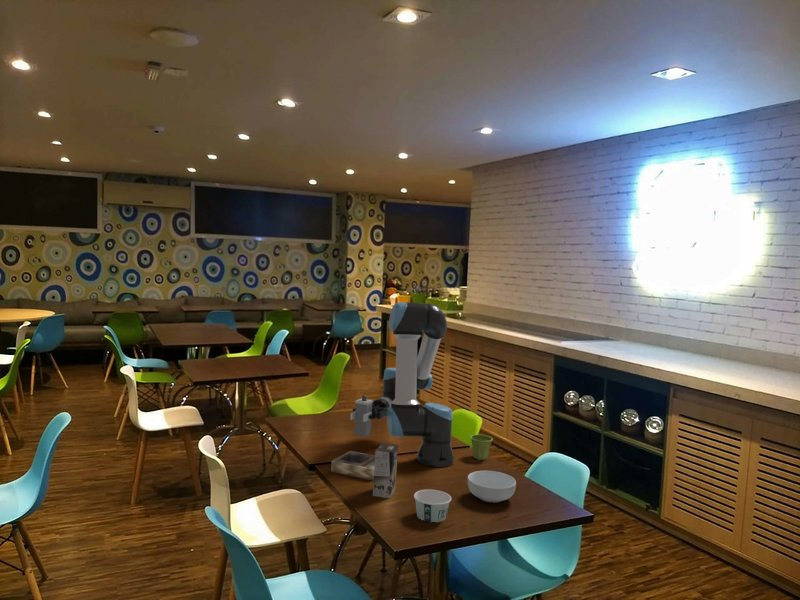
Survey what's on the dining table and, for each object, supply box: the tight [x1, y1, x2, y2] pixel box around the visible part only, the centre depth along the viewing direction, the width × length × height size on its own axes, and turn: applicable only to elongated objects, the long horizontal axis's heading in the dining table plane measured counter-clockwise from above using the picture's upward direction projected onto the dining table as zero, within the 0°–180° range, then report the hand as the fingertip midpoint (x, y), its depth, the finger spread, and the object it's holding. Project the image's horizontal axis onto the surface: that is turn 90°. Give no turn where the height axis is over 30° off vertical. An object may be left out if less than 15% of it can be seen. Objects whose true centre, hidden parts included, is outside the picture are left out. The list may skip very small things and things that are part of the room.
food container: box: [413, 489, 452, 523], centre depth 190 cm, size 12×12×6 cm
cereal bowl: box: [467, 470, 517, 504], centre depth 208 cm, size 17×17×7 cm
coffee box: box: [372, 443, 399, 499], centre depth 207 cm, size 9×6×16 cm
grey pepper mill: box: [353, 394, 374, 438], centre depth 243 cm, size 5×5×16 cm
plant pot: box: [469, 434, 494, 461], centre depth 252 cm, size 9×9×9 cm
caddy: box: [330, 450, 375, 482], centre depth 229 cm, size 18×15×4 cm
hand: (357, 417), depth 239 cm, fingers closed on grey pepper mill, 5 cm apart
